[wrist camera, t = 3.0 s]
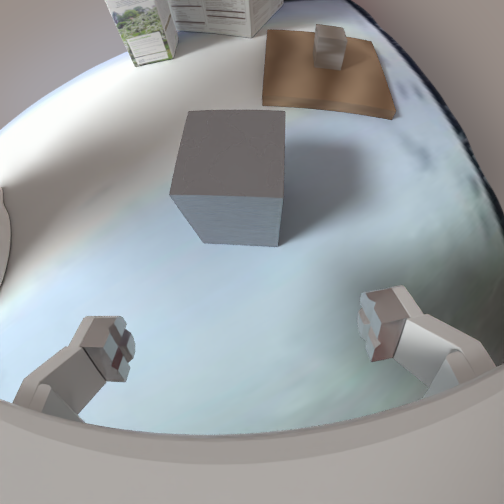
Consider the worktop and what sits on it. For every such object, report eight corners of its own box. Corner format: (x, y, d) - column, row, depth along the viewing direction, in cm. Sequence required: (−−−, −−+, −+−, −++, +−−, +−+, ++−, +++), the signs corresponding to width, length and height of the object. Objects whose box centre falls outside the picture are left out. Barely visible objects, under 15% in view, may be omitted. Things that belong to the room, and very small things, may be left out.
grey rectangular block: (203, 243, 24) (169, 195, 15) (212, 178, 25) (188, 111, 16) (277, 246, 23) (283, 198, 14) (280, 180, 25) (285, 111, 16)
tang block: (262, 105, 27) (261, 62, 21) (267, 37, 31) (266, 2, 25) (391, 119, 26) (410, 82, 20) (369, 49, 30) (378, 16, 24)
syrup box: (179, 38, 32) (157, -42, 18) (174, 60, 30) (145, -30, 16) (143, 46, 32) (113, -29, 18) (134, 69, 30) (96, -13, 16)
